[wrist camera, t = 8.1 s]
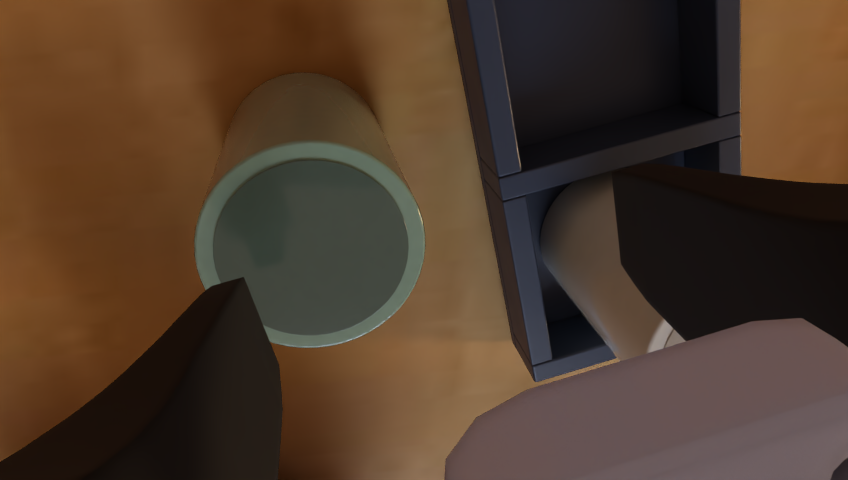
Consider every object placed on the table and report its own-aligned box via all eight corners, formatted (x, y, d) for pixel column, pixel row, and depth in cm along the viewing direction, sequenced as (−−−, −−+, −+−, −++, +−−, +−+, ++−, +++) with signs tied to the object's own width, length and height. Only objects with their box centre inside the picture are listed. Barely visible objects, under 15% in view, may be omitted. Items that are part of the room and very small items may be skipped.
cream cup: (670, 270, 26) (819, 399, 18) (548, 306, 25) (651, 451, 18) (663, 150, 23) (830, 242, 16) (530, 187, 23) (638, 298, 16)
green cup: (397, 198, 23) (446, 315, 16) (256, 237, 22) (239, 375, 15) (361, 54, 21) (398, 113, 13) (204, 94, 20) (155, 178, 13)
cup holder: (701, 287, 27) (742, 321, 24) (512, 343, 26) (534, 383, 24) (687, -139, 20) (741, -151, 18) (432, -76, 19) (452, -79, 17)
